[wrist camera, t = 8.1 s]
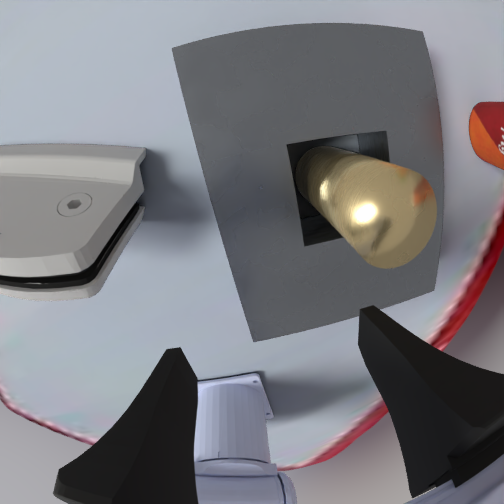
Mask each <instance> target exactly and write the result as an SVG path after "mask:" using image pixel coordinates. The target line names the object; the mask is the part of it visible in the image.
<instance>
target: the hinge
mask: <svg viewBox="0 0 504 504" xmlns="http://www.w3.org/2000/svg"><path fill="white" fill-rule="evenodd" d="M145 157H146V148H139V147H127V146H112V145H91V144H21V145H3V146H0V294H3V295H6V296H9V297H14V298H19V299H26V300H35V301H63V300H75V299H83V298H90V297H92V296H94V295H96V294H97V293H98V292H99V291H100V290H101V288H102V287H103V285H104V283H105V281H106V279H107V277H108V276H109V274H110V272H111V270H112V269H113V267H114V265H115V263H116V262H117V260H118V258H119V257H120V255H121V253H122V251H123V250H124V248H125V247H126V245H127V243H128V242H129V240H130V238H131V237H132V235H133V234H134V232H135V230H136V229H137V227H138V226H139V224H140V223H141V221H142V218H143V214H144V209H145V207H143V206H139V204H138V203H136V201H137V200H138V199H139V197H140V196H141V194H142V193H143V192H144V186H143V182H142V177H141V172H140V168H139V165H140V164H141V162H142V161H143V159H144V158H145Z"/></svg>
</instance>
